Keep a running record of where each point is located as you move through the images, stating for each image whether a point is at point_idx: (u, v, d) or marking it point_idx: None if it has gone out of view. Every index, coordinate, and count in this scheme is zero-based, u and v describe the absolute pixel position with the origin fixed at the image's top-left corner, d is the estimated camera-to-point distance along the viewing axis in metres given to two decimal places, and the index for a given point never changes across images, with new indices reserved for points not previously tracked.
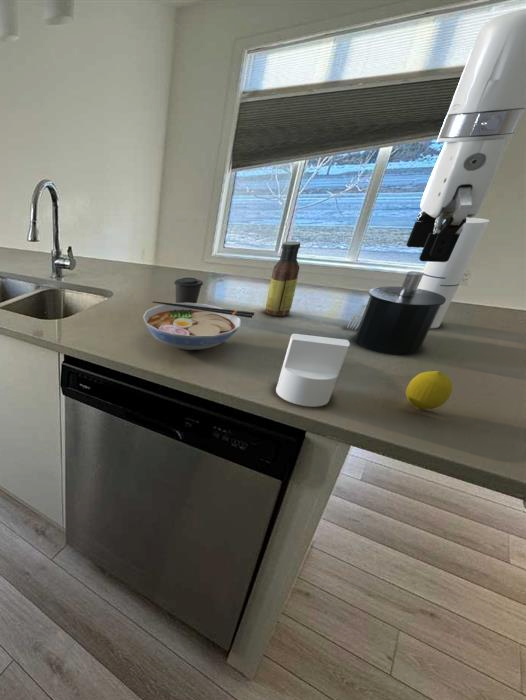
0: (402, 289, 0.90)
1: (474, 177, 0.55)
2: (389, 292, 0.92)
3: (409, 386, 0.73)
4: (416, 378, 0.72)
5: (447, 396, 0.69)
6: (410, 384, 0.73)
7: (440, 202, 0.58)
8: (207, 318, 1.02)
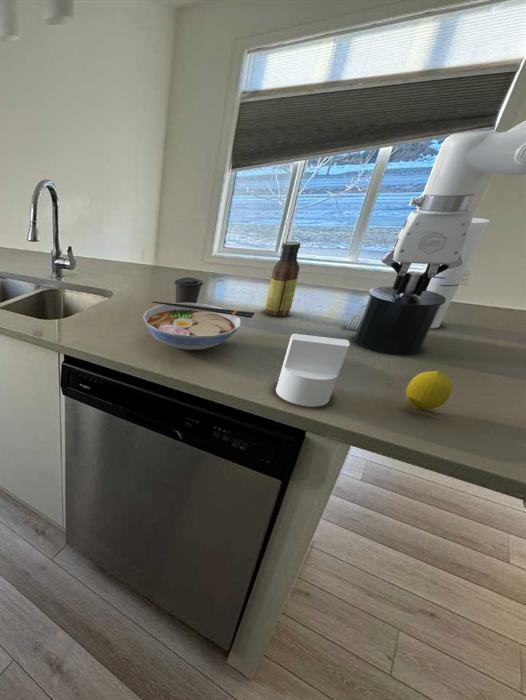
0: None
1: (400, 234, 0.85)
2: (389, 292, 0.92)
3: (409, 386, 0.73)
4: (416, 378, 0.72)
5: (447, 396, 0.69)
6: (410, 384, 0.73)
7: None
8: (207, 318, 1.02)
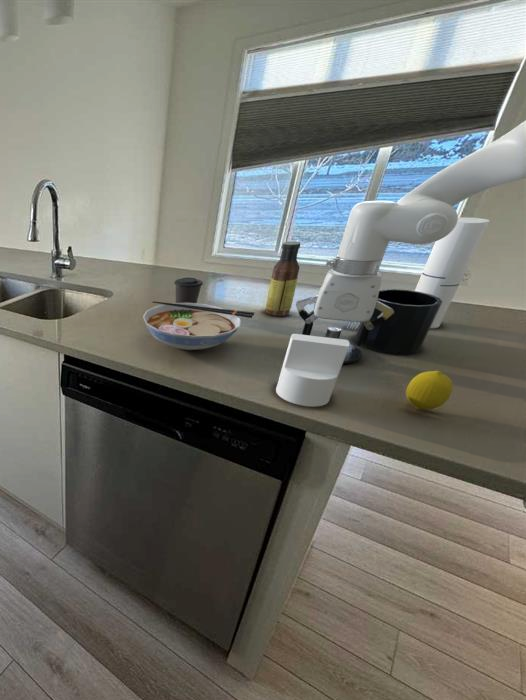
0: None
1: (319, 291, 0.89)
2: None
3: (409, 386, 0.73)
4: (416, 378, 0.72)
5: (447, 396, 0.69)
6: (410, 384, 0.73)
7: None
8: (207, 318, 1.02)
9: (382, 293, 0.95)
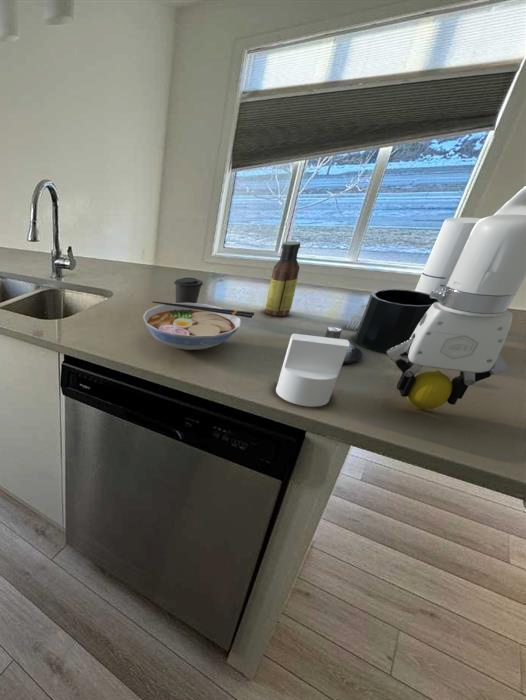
0: None
1: (417, 330, 0.68)
2: None
3: None
4: (416, 378, 0.72)
5: (447, 396, 0.69)
6: None
7: None
8: (207, 318, 1.02)
9: (382, 293, 0.95)
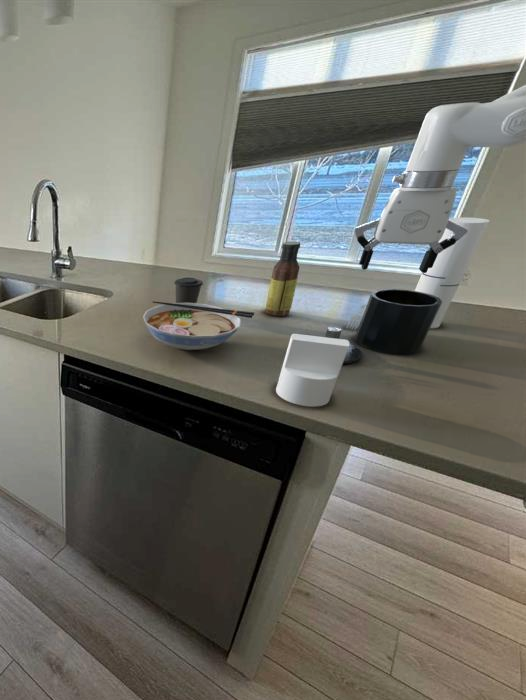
0: None
1: (383, 213, 0.83)
2: None
3: None
4: None
5: None
6: None
7: None
8: (207, 318, 1.02)
9: (382, 293, 0.95)
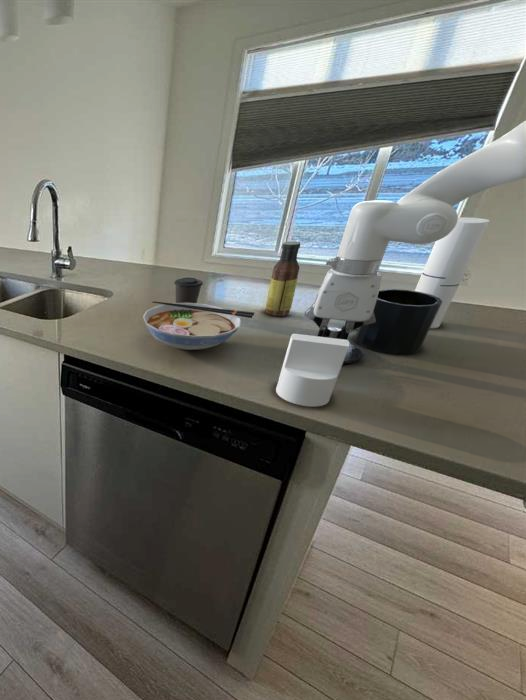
0: None
1: (319, 291, 0.89)
2: None
3: None
4: None
5: None
6: None
7: None
8: (207, 318, 1.02)
9: (382, 293, 0.95)
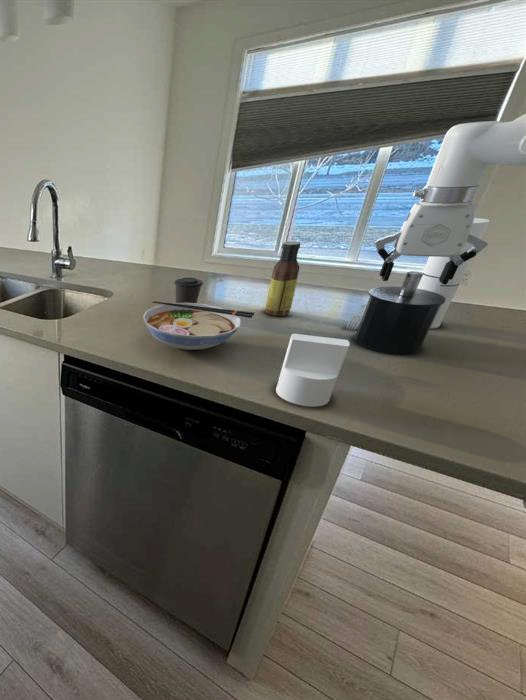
0: (401, 289, 0.90)
1: (403, 226, 0.85)
2: (389, 292, 0.92)
3: None
4: None
5: None
6: None
7: None
8: (207, 318, 1.02)
9: None
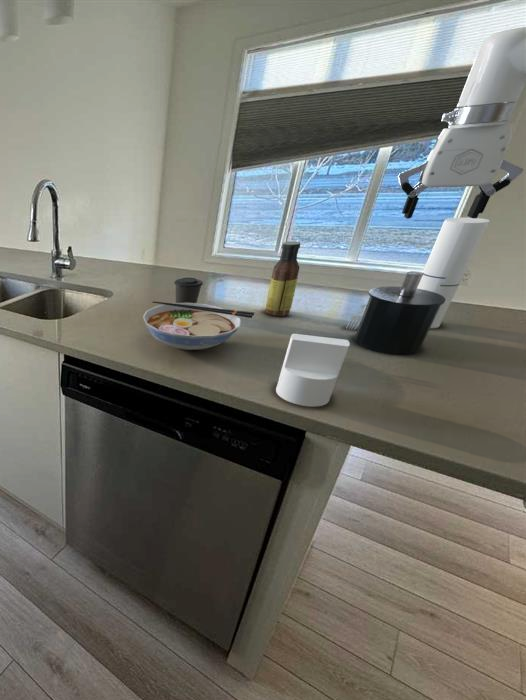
0: (401, 289, 0.90)
1: (430, 155, 0.78)
2: (389, 292, 0.92)
3: None
4: None
5: None
6: None
7: None
8: (207, 318, 1.02)
9: None
